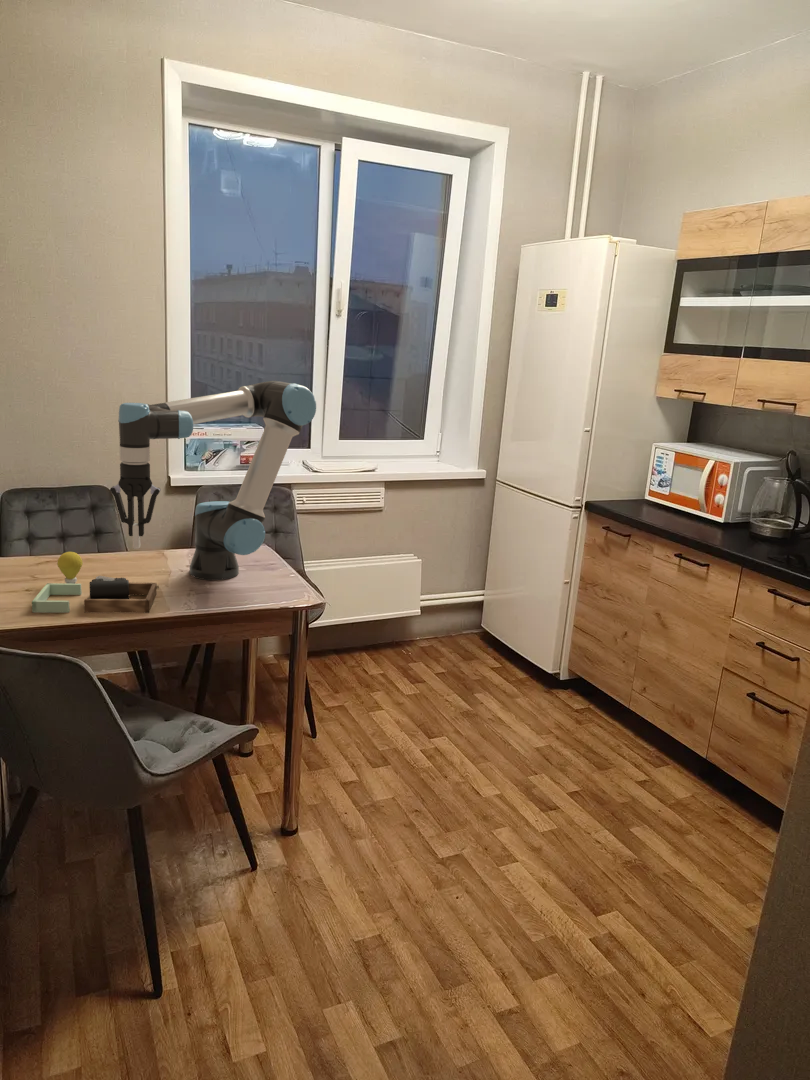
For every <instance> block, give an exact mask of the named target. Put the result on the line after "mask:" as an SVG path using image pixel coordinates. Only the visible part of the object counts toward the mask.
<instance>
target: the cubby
mask: <svg viewBox="0 0 810 1080" xmlns="http://www.w3.org/2000/svg"><path fill="white" fill-rule="evenodd" d="M157 584H158V583H157V582H133V581H132V582H130V581H129V596H146V597H145V598H143V599H141V598H138V599H137V598H129V599H90V598H85V599H84V601H83V603H84V605H83V606H84V613H89V614H90V613H94V614H95V613H97V614H99V613H100V614H101V613H103V614H104V613H107V614H110V613H112V614H113V613H115V614H116V613H117V614H118V613H119V614H120V613H121V614H123V613H124V614H126V613H128V614H129V613H130V614H131V613H132V614H134V613H135V614H137V613H138V614H139V613H140V614H142V613H143V614H149V613H150V612H151V609H152V607H153V604H154V602H155V599H156V597H157V594H158V591H157V590H158V589H157ZM144 612H145V613H144Z"/></svg>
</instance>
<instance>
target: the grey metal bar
mask: <svg viewBox="0 0 810 1080" xmlns="http://www.w3.org/2000/svg"><path fill="white" fill-rule="evenodd" d="M115 578H116V577H111V576H110V577H109V576H105V575H98V576H96V577H95V579H103V581H114V580H115Z"/></svg>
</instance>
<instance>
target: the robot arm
mask: <svg viewBox="0 0 810 1080" xmlns="http://www.w3.org/2000/svg"><path fill="white" fill-rule="evenodd" d="M316 412H317V401H316V399H315V395H314V394H313V392H312V391H311V390H310V389H309V388H308V387H306V386H305V385H301V384H298V383H296V382H295V383H291V382H286V381H279V380H270V381H264V382H259V383H254V384H249V385H242V386H240V387H239V388H238V389H237V390H233V391H227V392H221V393H216V394H209V395H202V396H196V397H190V398H185V399H179V400H178V399H177V400H173V401H166V402H161V403H154V404H149V403H143V402H142V403H141V402H123V403H121V404H120V405H119V408H118V430H119V431H118V434H119V461H121V462H120V463H119V473H120V474H119V475H120V478H119V480H118V483H117V484H116V485H112V486H111V487H110V489H109V491H110V493H111V494H112V496H113V497H114V501H115V504H116V509H117V512H118V514H119V518H120V522H121V523H125V524H126V525H128V526H127V527H128V529H127V530H128V536H129V537H132V550H139V549H140V548H141V537H144V534H145V525H146V524H149V523H150V522H151V521H152V517H153V512H154V509H155V505H156V501H157V497H158V495H159V494H160V492H161V488H160V487H156V486H155V485H154V484H153V481H152V480H151V464H150V463H149V462H150V460H151V455H150V453H151V452H150V448H151V447H150V446H151V445H150V444H151V443H150V441H151V440H162V439H163V440H167V439H168V440H170V439H171V440H172V439H174V440H175V439H178V440H181V439H186V438H189V437H191V436H192V434H193V431H194V425H197V424H202V423H207V422H214V421H218V420H224V419H228V418H229V419H230V418H236V417H240V416H244V417H245V418H252V417H253V418H254V417H261V418H262V419H263V421H264V424H265V426H264V429H263V432H262V435H261V437H260V439H259V442H258V445H257V446H256V449H255V450H254V451H255V452H254V454H253V456H252V459H251V461H250V464H249V466H248V469H247V471H246V473H245V476H244V478H243V480H242V483H241V486H240V488H239V490H238V493H237V495H236V498H235V499H234V500H231V501H226V500H220V501H219V500H218V501H205V502H201V503H200V502H199V503H198V504H197V505H196V506H195V510H194V511H195V514H194V518H195V523H194V524H195V535H194V536H195V539H194V540H195V550H194V553H193V556H192V558H191V562H190V565H189V575H191V576H192V577H194V578H196V579H200V580H205V581H206V580H207V581H208V580H209V581H218V580H227V579H232V578H234V577H236V576H238V575H239V574H240V573H239V572H240V569H239V562H238V560H237V556H236V555H239V556H249V555H251V554H253V553H255V552H257V551H258V550H259V549H260V548H261V546H262V545H263V543H264V542H265V538H266V530H265V526H264V525H263V523H264V522H265V519H266V516H265V515H266V514H265V513H264V508H265V506H266V503H267V500H268V498H269V496H270V492H271V491H272V488H273V485H274V483H275V481H276V478H277V476H278V474H279V471H280V468H281V465H282V464H283V461H284V459H285V457H286V454H287V452H288V448H289V446H290V444H291V441H292V439H293V438H294V437H295V436H299V435H300V433H301V430H302V428H303V426H305V425H308V424H309V423H311V422H312V421H313V419H314V417H315V415H316ZM121 490H122V491H123V493H124V494H125V495H126V496H127V497H126V498H127V499H126V500H127V513H126V509H125V506H124V502H123V499H122V498H123V497H122V495H121ZM148 491H150V494H151V495H150V500H149V504H148V508H147V511H146V516H145V495H146V494H147V493H148ZM135 497H136V498H137V499H136V500H137V522H135Z"/></svg>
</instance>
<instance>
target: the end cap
mask: <svg viewBox="0 0 810 1080" xmlns="http://www.w3.org/2000/svg"><path fill="white" fill-rule="evenodd" d="M114 578H115V580H114V581H103V579H96V578H94V579H92V580H91V581H89V599H130V595H129V582H130V581H129V580H128V579H127V578H126V577H114Z"/></svg>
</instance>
